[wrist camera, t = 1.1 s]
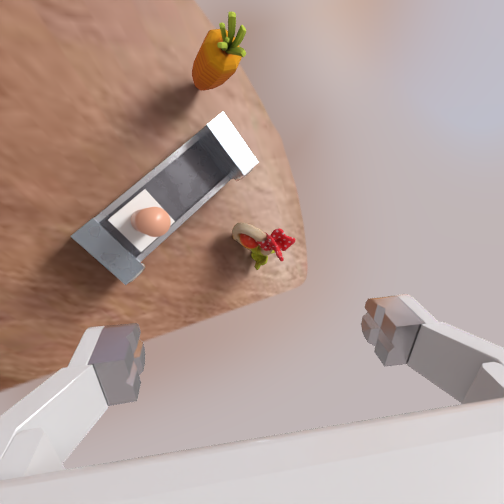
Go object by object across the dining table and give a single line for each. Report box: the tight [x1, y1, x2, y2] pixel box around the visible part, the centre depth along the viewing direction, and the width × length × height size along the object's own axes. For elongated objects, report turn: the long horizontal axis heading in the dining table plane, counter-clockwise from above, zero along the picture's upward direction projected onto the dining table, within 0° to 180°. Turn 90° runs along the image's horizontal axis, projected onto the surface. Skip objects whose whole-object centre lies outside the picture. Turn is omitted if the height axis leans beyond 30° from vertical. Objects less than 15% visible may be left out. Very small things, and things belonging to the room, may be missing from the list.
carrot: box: [192, 12, 246, 90], centre depth 37 cm, size 5×5×15 cm
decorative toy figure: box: [232, 223, 295, 270], centre depth 46 cm, size 6×11×9 cm
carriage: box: [108, 189, 175, 252], centre depth 35 cm, size 6×6×13 cm
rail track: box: [71, 112, 258, 285], centre depth 40 cm, size 8×24×8 cm, turn 131°
